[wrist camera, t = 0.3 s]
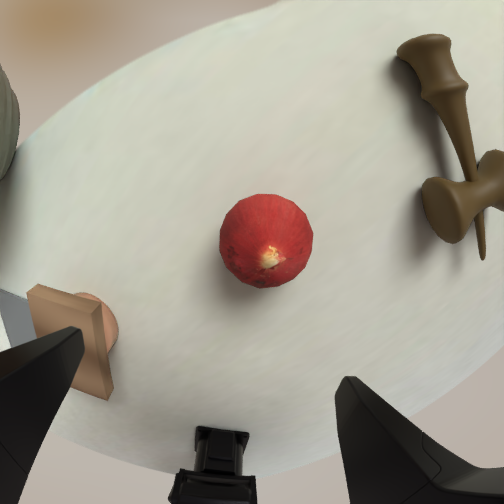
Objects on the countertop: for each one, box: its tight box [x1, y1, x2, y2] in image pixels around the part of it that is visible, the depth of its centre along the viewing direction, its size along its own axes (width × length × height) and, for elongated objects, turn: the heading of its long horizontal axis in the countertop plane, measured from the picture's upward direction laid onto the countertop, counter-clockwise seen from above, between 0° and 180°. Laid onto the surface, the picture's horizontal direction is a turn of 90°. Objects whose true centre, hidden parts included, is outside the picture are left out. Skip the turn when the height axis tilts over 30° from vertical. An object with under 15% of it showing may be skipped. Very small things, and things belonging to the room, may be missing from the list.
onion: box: [219, 194, 313, 288], centre depth 17 cm, size 6×6×8 cm
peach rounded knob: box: [74, 293, 118, 354], centre depth 22 cm, size 6×6×4 cm
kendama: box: [397, 34, 504, 260], centre depth 17 cm, size 6×10×20 cm
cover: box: [26, 284, 114, 401], centre depth 20 cm, size 10×7×2 cm
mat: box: [0, 289, 37, 348], centre depth 25 cm, size 12×9×1 cm
